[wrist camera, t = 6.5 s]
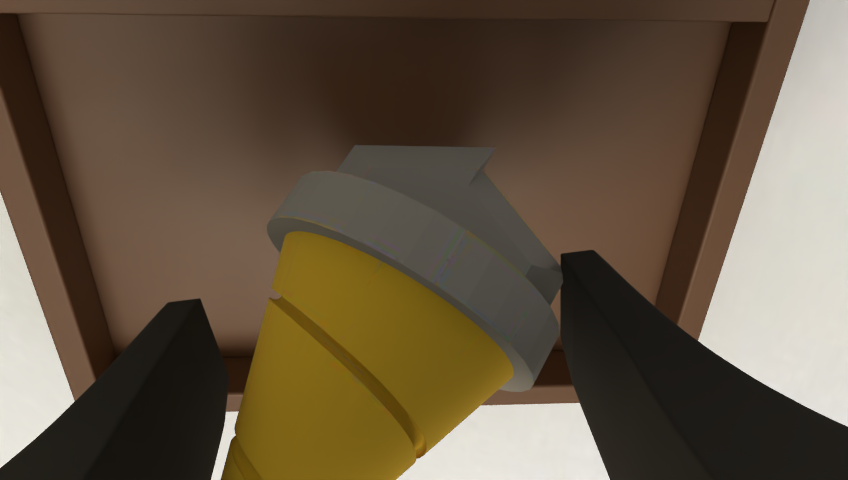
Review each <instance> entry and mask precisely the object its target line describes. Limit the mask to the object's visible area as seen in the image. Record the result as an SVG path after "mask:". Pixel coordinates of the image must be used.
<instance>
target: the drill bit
mask: <svg viewBox="0 0 848 480" xmlns="http://www.w3.org/2000/svg"><path fill="white" fill-rule="evenodd" d="M495 149H496V147H439V146H380V145H355V146H354V147H353V148H352V150H351V151H350V153H349V154H348V156H347V157H346V158H345V160H344V161H343V163H342V164H341V165H340V167H339V168H338V170H337V171H336V172H332V171H312V172H310V173H308V174H305V175H303V176H302V177H301V178H300V179H299V181H298V182H297V184H296V185H295V186H294V188H293V189H292V191H291V192H290V193H289V195H288V196H287V197H286V199H285V200H284V202H283V203H282V204H281V206H280V207H279V208H278V210H277V211H276V213H275V214H274V215H273V217H272V218H271V220H270V221H269V223H268V225H267V232H268V236H269V238H270V239H271V241H272V243H273V245H274V246H275V248H276V249H277V250H278V251H279V253H280V257H279V261H278V265H277V268H276V272H275V276H274V280H273V284H272V287H271V288H272V289H273V290H275V291H276V292H277V293H278V294H280V295H281V297H280V298H279V299H276V300H275V299H272V298H270V297H269V299H268V303H267V306H266V310H265V314H264V318H263V322H262V325H261V329H260V333H259V337H258V341H257V344H256V348H255V352H254V356H253V360H252V363H251V367H250V371H249V375H248V378H247V382H246V386H245V390H244V394H243V397H242V401H241V405H240V409H239V413H238V416H237V420H236V424H235V434H236V436H235V437H233V439H232V440H231V443H230V447H229V451H228V454H227V458H226V462H225V466H224V470H223V473H222V477H221V480H396V479H397V478H398V477H399V476H401V475H402V474H403V473H404V472H405V471H406V470H407V469H409V468H410V467H411V466H412V465H413V464H414V463H415V461H416V458H420V457H422V456H423V455H424V454H426V453H427V452H428V451H429V450H430V449H431V448H432V447H434V446H435V445H436V444H437V443H438V442H439V441H440V440H442V439H443V438H444V437H445V436H446V435H447V434H448V433H450V432H451V431H452V430H453V429H454V428H455V427H456V426H457V425H459V424H460V423H461V422H462V421H463V420H464V419H465V418H467V417H468V416H469V415H470V414H471V413H472V412H473V411H475V410H476V409H477V408H478V407H479V406H480V405H481V404H483V403H484V402H485V401H486V400H487V399H488V398H489V397H491V396H492V395H493V394H494V393H495V392H496V391H497V390H498V389H500V390H504V391H511V392H523V391H527V390H530V388H531V387H532V386H533V384H534V382H535V381H536V379H537V377H538V375H539V373H540V371H541V369H542V367H543V365H544V363H545V361H546V359H547V357H548V355H549V354H550V352H551V350H552V348H553V346H554V344H555V342H556V340H557V338H558V336H559V324H558V321H557V319H556V317H555V314H554V312H553V310H552V308H551V307H550V306H551V304H552V302H553V300H554V298H555V297H556V295H557V293H558V291H559V289H560V287H561V285H562V283H563V274H562V270H561V266H560V265H559V263H558V262H557V261H556V260H555V258H554V257H553V256H552V255H551V254H550V252H549V251H548V250H547V249H546V247H545V246H544V245H543V244H542V242H541V241H540V240H539V239H538V237H537V236H536V235H535V234H534V233H533V231H532V230H531V229H530V228H529V226H528V225H527V224H526V223H525V221H524V220H523V219H522V218H521V216H520V215H519V214H518V213H517V211H516V210H515V209H514V208H513V207H512V205H511V204H510V203H509V202H508V200H507V199H506V198H505V197H504V195H503V194H502V193H501V192H500V190H499V189H498V188H497V187H496V186H495V184H494V183H493V182H492V181H491V179H490V178H489V177H488V176H487V174H486V173H485V172H484V171H483V169H484V167H485V166H486V164H487V162H488V161H489V159H490V157H491V156H492V154H493V152H494V151H495Z"/></svg>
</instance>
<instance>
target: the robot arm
mask: <svg viewBox="0 0 848 480" xmlns="http://www.w3.org/2000/svg"><path fill="white" fill-rule="evenodd" d="M561 270H562V274H563V283H562V285H561V292H560V337H561V341H562V345H563V349H564V353H565V357H566V361H567V365H568V368H569V372H570V376H571V380H572V383H573V386H574V389H575V391H576V394H577V397H578V399H579V402H580V404H581V407H582V409H583V412H584V415H585V417H586V420H587V422H588V425H589V427H590V430H591V432H592V435H593V437H594V440H595V442H596V445H597V447H598V450H599V453H600V455H601V458H602V460H603V463H604V465H605V468H606V470H607V473H608V475H609V478H610V480H848V427H847V426H845V425H843V424H840V423H838V422H836V421H834V420H832V419H829V418H827V417H825V416H823V415H821V414H819V413H817V412H815V411H813V410H811V409H809V408H807V407H805V406H803V405H801V404H799V403H798V402H796V401H794V400H792V399H790V398H788V397H786V396H784V395H783V394H781V393H779V392H777V391H775V390H773V389H771V388H770V387H768V386H766V385H765V384H763V383H761V382H759V381H758V380H756V379H754V378H753V377H751V376H749V375H748V374H746V373H745V372H743V371H741V370H740V369H738V368H737V367H735V366H734V365H732V364H730V363H729V362H727V361H726V360H724V359H723V358H721V357H720V356H718V355H717V354H715V353H714V352H712V351H711V350H709V349H708V348H707V347H705V346H704V345H702V344H701V343H700V342H699V341H697V340H696V339H695V338H693V337H692V336H691V335H689V334H688V333H687V332H685V331H684V330H683V329H682V328H680V327H679V326H678V325H677V324H675V323H674V322H673V321H672V320H670V319H669V318H668V317H667V316H666V315H665V314H663V313H662V312H661V311H660V310H659V309H658V308H656V307H655V306H654V305H653V304H652V303H651V302H649V301H648V300H647V299H646V298H645V297H644V296H643V295H641V294H640V293H639V292H638V291H637V290H636V289H635V288H634V287H633V286H632V285H631V284H629V283H628V282H627V281H626V280H625V279H624V278H623V277H622V276H621V275H620V274H619V273H618V272H617V271H616V270H615V269H614V268H613V267H612V266H611V265H610V264H609V263H608V262H606V261H605V260H604V259H603V258H602V257H601V256H600V255H599V254H598V253H597V252H596V251H594V250H586V251H578V252H570V253H562V254H561ZM228 386H229V374H228V372H227V369H226V366H225V364H224V361H223V358H222V355H221V353H220V350H219V347H218V345H217V342H216V339H215V337H214V334H213V331H212V329H211V326H210V323H209V320H208V318H207V315H206V312H205V310H204V307H203V304H202V302H201V299H200V298H198V299H190V300H182V301H174V302H168V303H167V304H166V305H165V306H164V307H163V308H162V309H161V310H160V311H159V312H158V313H157V314H156V315H155V317H154V318H153V319H152V320H151V321H150V322H149V323H148V324H147V325H146V326H145V328H144V329H143V330H142V331H141V332H140V333H139V334H138V335H137V337H136V338H135V339H134V340H133V341H132V342H131V343H130V344H129V345H128V347H127V348H126V349H125V350H124V351H123V352H122V353H121V354H120V355H119V356H118V357H117V358H116V360H115V361H114V362H113V363H112V364H111V365H110V366H109V367H108V368H107V369H106V370H105V371H104V373H103V374H102V375H101V376H100V377H99V378H98V379H97V380H96V381H95V382H94V383H93V384H92V385H91V386H90V387H89V388H88V389H87V390H86V391H85V392H84V393H83V394H82V395H81V396H80V397H79V398H78V399H77V400H76V401H75V402H74V403H73V404H72V405H71V406H70V407H69V408H68V409H67V410H66V411H65V412H64V413H63V414H62V415H61V416H60V417H59V418H58V419H57V420H56V421H55V422H53V423H52V424H51V425H50V426H49V427H48V428H47V429H46V430H45V431H44V432H43V433H41V434H40V435H39V436H38V437H37V438H36V439H35V440H34V441H32V442H31V443H30V444H29V445H28V446H26V447H25V448H24V449H23V450H22V451H21V452H19V453H18V454H17V455H16V456H15V457H13V458H12V459H11V460H10V461H9V462H7V463H6V464H5V465H4V466H2V467H1V468H0V480H211V477H212V473H213V469H214V465H215V461H216V457H217V453H218V449H219V445H220V441H221V437H222V432H223V428H224V422H225V414H226V406H227V396H228Z"/></svg>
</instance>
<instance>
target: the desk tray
mask: <svg viewBox="0 0 848 480" xmlns="http://www.w3.org/2000/svg"><path fill="white" fill-rule="evenodd" d="M809 1H810V0H0V192H1V194H2V197H3V200H4V203H5V206H6V208H7V211H8V214H9V217H10V220H11V223H12V225H13V228H14V231H15V234H16V237H17V239H18V242H19V245H20V248H21V251H22V254H23V256H24V259H25V262H26V265H27V268H28V270H29V273H30V276H31V279H32V282H33V285H34V287H35V290H36V293H37V296H38V299H39V301H40V304H41V307H42V310H43V313H44V315H45V318H46V321H47V324H48V327H49V330H50V332H51V335H52V338H53V341H54V344H55V346H56V349H57V352H58V355H59V358H60V361H61V363H62V366H63V369H64V372H65V375H66V377H67V380H68V383H69V386H70V389H71V392H72V394H73V397H74V400H75V401H76V400H77V399H78V398H79V397H80V396H81V395H82V394H83V393H84V392H85V391H86V390H87V389H88V388H89V387H90V386H91V385H92V384H93V383H94V382H95V381H96V380H97V379H98V378H99V377H100V376H101V375H102V374H103V373H104V371H105V370H106V369H107V368H108V367H109V366H110V365H111V364H112V363H113V362H114V361H115V360H116V358H117V357H118V356H119V355H120V354H121V353H122V352H123V351H124V350H125V349H126V348H127V347H128V345H129V344H130V343H131V342H132V341H133V340H134V339H135V338H136V337H137V335H138V334H139V333H140V332H141V331H142V330H143V329H144V328H145V326H146V325H147V324H148V323H149V322H150V321H151V320H152V319H153V318H154V317H155V315H156V314H157V313H158V312H159V311H160V310H161V309H162V308H163V307H164V306H165V305H166V304H167V303H168V302H174V301H182V300H190V299H198V298H200V299H201V302H202V304H203V307H204V310H205V312H206V315H207V318H208V320H209V323H210V326H211V329H212V331H213V334H214V337H215V339H216V342H217V345H218V347H219V350H220V353H221V355H222V358H223V361H224V364H225V366H226V369H227V372H228V374H229V386H228V396H227V406H226V412H231V411H239V409H240V405H241V401H242V397H243V394H244V390H245V386H246V382H247V378H248V375H249V371H250V367H251V363H252V360H253V356H254V352H255V348H256V344H257V341H258V337H259V333H260V329H261V325H262V322H263V318H264V314H265V310H266V306H267V303H268V299H269V297H270V298H272V299H275V300H276V299H279V298H280V297H281V295H280V294H278V293H277V292H276V291H275V290H273V289H272V288H271V287H272V284H273V280H274V276H275V272H276V268H277V265H278V261H279V257H280V253H279V251H278V250H277V249H276V248H275V246H274V245H273V243H272V241H271V239H270V238H269V236H268V232H267V225H268V223H269V221H270V220H271V218H272V217H273V215H274V214H275V213H276V211H277V210H278V208H279V207H280V206H281V204H282V203H283V202H284V200H285V199H286V197H287V196H288V195H289V193H290V192H291V191H292V189H293V188H294V186H295V185H296V184H297V182H298V181H299V179H300V178H301V177H302V176H303V175H305V174H308V173H310V172H312V171H332V172H336V171H337V170H338V168H339V167H340V165H341V164H342V163H343V161H344V160H345V158H346V157H347V156H348V154H349V153H350V151H351V150H352V148H353V147H354V146H355V145H380V146H439V147H496V149H495V151H494V152H493V154H492V156H491V157H490V159H489V161H488V162H487V164H486V166H485V167H484V169H483V171H484V172H485V173H486V174H487V176H488V177H489V178H490V179H491V181H492V182H493V183H494V184H495V186H496V187H497V188H498V189H499V190H500V192H501V193H502V194H503V195H504V197H505V198H506V199H507V200H508V202H509V203H510V204H511V205H512V207H513V208H514V209H515V210H516V211H517V213H518V214H519V215H520V216H521V218H522V219H523V220H524V221H525V223H526V224H527V225H528V226H529V228H530V229H531V230H532V231H533V233H534V234H535V235H536V236H537V237H538V239H539V240H540V241H541V242H542V244H543V245H544V246H545V247H546V249H547V250H548V251H549V252H550V254H551V255H552V256H553V257H554V258H555V260H556V261H557V262H558V263H559V265H560V266H561V254H562V253H570V252H578V251H586V250H594V251H596V252H597V253H598V254H599V255H600V256H601V257H602V258H603V259H604V260H605V261H606V262H608V263H609V264H610V265H611V266H612V267H613V268H614V269H615V270H616V271H617V272H618V273H619V274H620V275H621V276H622V277H623V278H624V279H625V280H626V281H627V282H628V283H629V284H631V285H632V286H633V287H634V288H635V289H636V290H637V291H638V292H639V293H640V294H641V295H643V296H644V297H645V298H646V299H647V300H648V301H649V302H651V303H652V304H653V305H654V306H655V307H656V308H658V309H659V310H660V311H661V312H662V313H663V314H665V315H666V316H667V317H668V318H669V319H670V320H672V321H673V322H674V323H675V324H677V325H678V326H679V327H680V328H682V329H683V330H684V331H685V332H687V333H688V334H689V335H691V336H692V337H693V338H695V339H696V340H697V341H698V338H699V335H700V332H701V329H702V326H703V323H704V320H705V317H706V314H707V311H708V308H709V305H710V302H711V299H712V296H713V293H714V290H715V287H716V284H717V281H718V278H719V275H720V272H721V269H722V266H723V262H724V259H725V256H726V253H727V250H728V247H729V244H730V241H731V238H732V235H733V232H734V229H735V226H736V223H737V220H738V217H739V214H740V211H741V208H742V205H743V202H744V199H745V196H746V193H747V190H748V187H749V184H750V181H751V177H752V174H753V171H754V168H755V165H756V162H757V159H758V156H759V153H760V150H761V147H762V144H763V141H764V138H765V135H766V132H767V129H768V126H769V123H770V120H771V117H772V114H773V111H774V108H775V105H776V102H777V99H778V96H779V92H780V89H781V86H782V83H783V80H784V77H785V74H786V71H787V68H788V65H789V62H790V59H791V56H792V53H793V50H794V47H795V44H796V41H797V38H798V35H799V32H800V29H801V26H802V23H803V20H804V17H805V14H806V11H807V7H808V4H809ZM560 292H561V287H560V289H559V291H558V293H557V295H556V297H555V298H554V300H553V302H552V304H551V306H550V307H551V308H552V310H553V312H554V314H555V317H556V319H557V321H558V324H559V336H558V338H557V340H556V342H555V344H554V346H553V348H552V350H551V352H550V354H549V355H548V357H547V359H546V361H545V363H544V365H543V367H542V369H541V371H540V373H539V375H538V377H537V379H536V381H535V382H534V384H533V386H532V387H531V388H530V390H527V391H523V392H511V391H504V390H500V389H498V390H497V391H496V392H495V393H494V394H493V395H492V396H491V397H489V398H488V399H487V400H486V401H485V402H484V403H483V404H481V405H510V404H550V403H580V402H579V399H578V397H577V394H576V391H575V389H574V386H573V383H572V380H571V376H570V372H569V368H568V365H567V361H566V357H565V353H564V349H563V345H562V341H561V337H560Z"/></svg>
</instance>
